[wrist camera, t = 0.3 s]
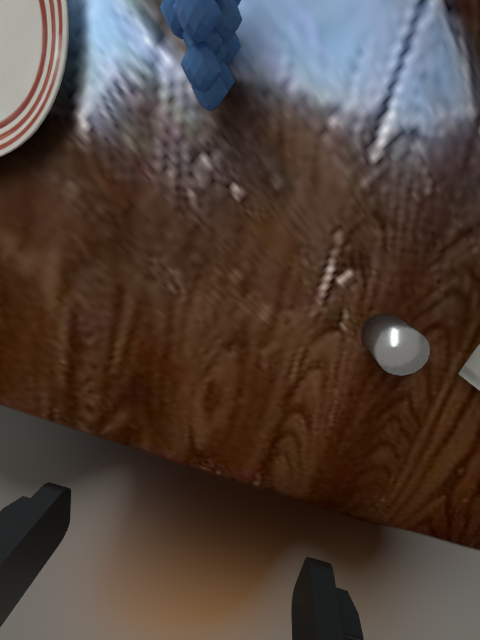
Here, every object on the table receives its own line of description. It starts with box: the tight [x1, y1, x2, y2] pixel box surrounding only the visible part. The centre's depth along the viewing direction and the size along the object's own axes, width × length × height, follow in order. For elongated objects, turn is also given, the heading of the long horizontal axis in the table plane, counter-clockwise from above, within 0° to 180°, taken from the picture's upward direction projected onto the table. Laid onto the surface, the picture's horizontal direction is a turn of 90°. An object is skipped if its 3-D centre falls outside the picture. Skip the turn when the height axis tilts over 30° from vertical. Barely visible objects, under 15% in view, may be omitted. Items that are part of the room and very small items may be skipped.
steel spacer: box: [361, 313, 430, 375], centre depth 32 cm, size 5×5×6 cm
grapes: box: [160, 0, 242, 111], centre depth 24 cm, size 12×7×12 cm, turn 170°
